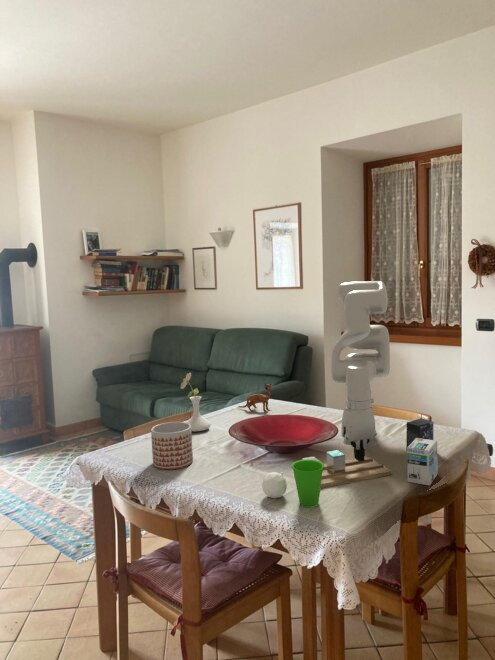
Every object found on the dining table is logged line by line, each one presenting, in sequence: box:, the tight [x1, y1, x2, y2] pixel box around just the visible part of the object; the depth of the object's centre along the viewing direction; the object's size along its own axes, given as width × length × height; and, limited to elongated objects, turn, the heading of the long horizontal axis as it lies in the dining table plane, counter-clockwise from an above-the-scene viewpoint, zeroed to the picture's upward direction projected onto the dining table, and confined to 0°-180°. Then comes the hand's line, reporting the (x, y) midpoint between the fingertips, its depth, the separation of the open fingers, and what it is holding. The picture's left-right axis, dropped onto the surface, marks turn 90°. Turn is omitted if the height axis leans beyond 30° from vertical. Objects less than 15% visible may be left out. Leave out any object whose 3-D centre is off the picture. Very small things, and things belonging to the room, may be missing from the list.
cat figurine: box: [237, 382, 273, 413], centre depth 245 cm, size 18×7×14 cm, turn 65°
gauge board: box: [301, 456, 392, 489], centre depth 165 cm, size 14×26×6 cm, turn 109°
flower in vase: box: [179, 372, 212, 432], centre depth 217 cm, size 13×11×25 cm
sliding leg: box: [326, 449, 346, 473], centre depth 164 cm, size 5×4×6 cm
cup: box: [291, 459, 325, 508], centre depth 144 cm, size 9×9×11 cm
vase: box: [150, 421, 194, 471], centre depth 181 cm, size 14×14×13 cm
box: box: [405, 417, 434, 452], centre depth 182 cm, size 8×6×11 cm
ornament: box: [261, 471, 288, 499], centre depth 150 cm, size 7×7×8 cm
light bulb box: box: [406, 438, 438, 486], centre depth 159 cm, size 11×7×11 cm, turn 148°
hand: (359, 459), depth 167 cm, fingers closed
